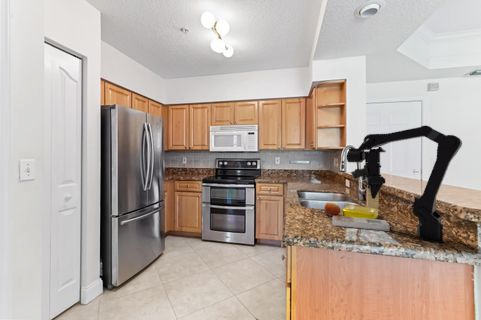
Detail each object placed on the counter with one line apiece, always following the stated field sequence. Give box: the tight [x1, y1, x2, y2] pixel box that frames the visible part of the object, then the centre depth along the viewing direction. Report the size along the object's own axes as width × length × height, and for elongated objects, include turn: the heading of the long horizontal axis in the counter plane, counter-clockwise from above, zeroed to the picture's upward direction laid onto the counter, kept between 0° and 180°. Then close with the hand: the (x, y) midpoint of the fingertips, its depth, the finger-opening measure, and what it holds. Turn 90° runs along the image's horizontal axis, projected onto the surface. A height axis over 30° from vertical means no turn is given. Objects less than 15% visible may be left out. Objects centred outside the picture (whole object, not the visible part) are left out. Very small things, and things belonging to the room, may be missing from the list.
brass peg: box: [366, 187, 380, 209], centre depth 98 cm, size 4×4×8 cm
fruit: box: [323, 202, 341, 218], centre depth 118 cm, size 8×8×8 cm
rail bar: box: [332, 215, 391, 232], centre depth 100 cm, size 22×8×3 cm, turn 68°
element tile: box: [342, 204, 379, 220], centre depth 116 cm, size 15×15×5 cm
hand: (372, 197), depth 98 cm, fingers closed on brass peg, 4 cm apart
